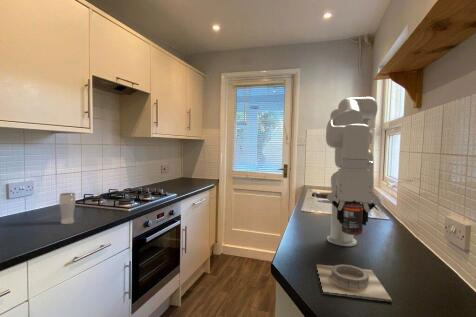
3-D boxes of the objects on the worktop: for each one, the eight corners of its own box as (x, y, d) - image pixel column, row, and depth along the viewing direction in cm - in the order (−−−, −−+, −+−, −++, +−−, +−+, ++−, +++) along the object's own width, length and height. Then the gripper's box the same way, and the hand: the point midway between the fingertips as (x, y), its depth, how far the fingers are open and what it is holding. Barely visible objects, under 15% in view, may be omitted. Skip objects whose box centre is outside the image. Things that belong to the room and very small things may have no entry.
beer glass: (73, 223, 137) (74, 194, 136) (57, 225, 134) (57, 195, 134) (76, 220, 143) (76, 192, 143) (61, 221, 141) (61, 192, 140)
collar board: (316, 267, 94) (316, 257, 94) (371, 272, 91) (371, 262, 91) (322, 294, 76) (323, 282, 76) (391, 302, 73) (392, 290, 73)
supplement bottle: (356, 229, 86) (358, 194, 86) (366, 236, 80) (367, 198, 80) (338, 229, 86) (339, 194, 85) (346, 235, 80) (347, 198, 79)
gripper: (380, 165, 84) (377, 222, 85) (323, 163, 87) (321, 218, 88) (389, 167, 77) (386, 229, 78) (326, 164, 80) (324, 224, 81)
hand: (351, 222), depth 83 cm, fingers closed on supplement bottle, 5 cm apart
